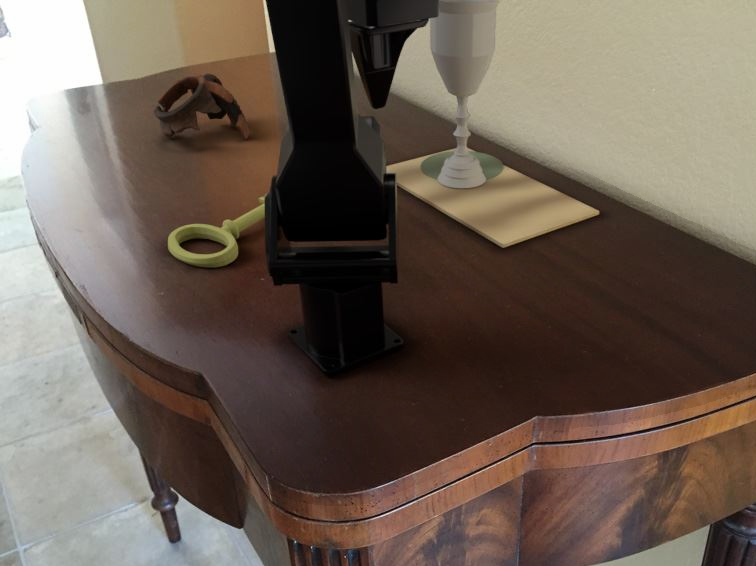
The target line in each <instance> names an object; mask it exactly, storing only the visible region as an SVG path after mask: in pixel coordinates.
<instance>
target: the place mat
mask: <svg viewBox="0 0 756 566" xmlns="http://www.w3.org/2000/svg"><path fill="white" fill-rule="evenodd" d="M456 150H457V147H455V148H451V149H447V150H444V151H443V150H442V151H439V152H435V153H432V154H428V155H424V156H420V157H416V158H413V159H409V160H405V161H401V162H397V163H394V164H393V163H392V164H389V165H386V170H387V173H396V180H397V187H399V188H401V189H402V190H404V191H406V192H407V193H409V194H411V195H412V196H414V197H416V198H418V200H419V199H420V200H421V201H423V202H424V203H426V204H428V205H429V206H431V207H433V208H434V209H436V210H438V211H440V212H441V213H443V214H445V215H446V216H448V217H450V218H451V219H453V220H455V221H457V222H458V223H460V224H461V225H463V226H464V227H466V228H468V229H470V230H472V231H473V232H474V233H476V234H478V235H480V236H482V237H484V238H485V239H487V240H489V241H490V242H492V243H494V244H496V245H497V246H498V247H501V248H502V249H503V248H507V247H510V246H514V245H516V244H519V243H521V242H524V241H527V240H531V239H534V238H535V237H539V236H542V235H545V234H548V233H550V232H553V231H555V230H558V229H561V228H565V227H567V226H570V225H573V224H576V223H579V222H582V221H585V220H589V219H590V218H593V217H596V216H599V215H600V210H598V209H596V208H594V207H592V206H590V205H588V204H586V203H583V202H581V201H580V200H577V199H575V198H573V197H571V196H569V195H567V194H565V193H563V192H561V191H558V190H556V189H555V188H552V187H550V186H548V185H546V184H544V183H542V182H541V181H538V180H537V179H534V178H532V177H530V176H527V175H525V174H523V173H521V172H519V171H517V170H515V169H513V168H510V167H509V166H506V165H504V164H503V162H502V161H501V160H500V159H499V158H497V157H496V156H493V155H491V154H488V153H484V152H479V151H475V150H473V149H472V148H470V147H467V150H468V151H469V152H470V154H472V155H474V156H475V157H476V158H477V159H478V160H479V162H480V164H479V165H480V166H481V168H482V170H483V171H482V172H483V174H484V176H485V178H486V180H485V182H484V183H483V184H482V185H479V186H476V187H472V188H452V187H448V186H445V185H443V184H441V183H440V182H439V181H438V176H439V175H440V173H441V169H442V167H443V166H444V161H445V160H446V159H447V158H448V157H449V156H450V155H452V154H454V152H455V151H456Z"/></svg>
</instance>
